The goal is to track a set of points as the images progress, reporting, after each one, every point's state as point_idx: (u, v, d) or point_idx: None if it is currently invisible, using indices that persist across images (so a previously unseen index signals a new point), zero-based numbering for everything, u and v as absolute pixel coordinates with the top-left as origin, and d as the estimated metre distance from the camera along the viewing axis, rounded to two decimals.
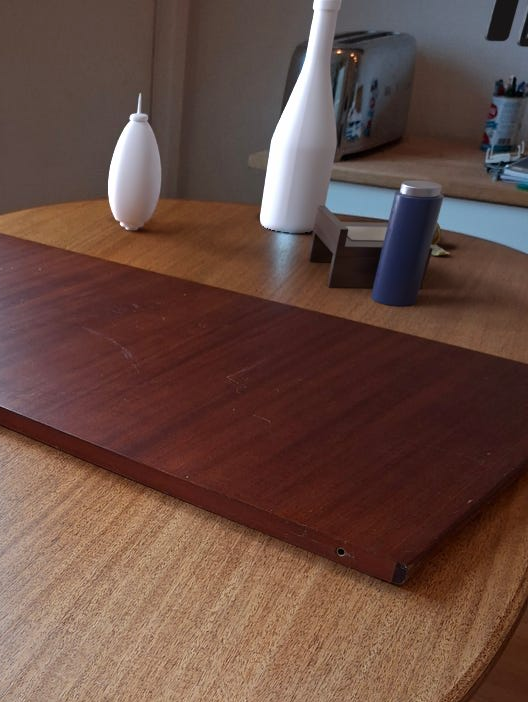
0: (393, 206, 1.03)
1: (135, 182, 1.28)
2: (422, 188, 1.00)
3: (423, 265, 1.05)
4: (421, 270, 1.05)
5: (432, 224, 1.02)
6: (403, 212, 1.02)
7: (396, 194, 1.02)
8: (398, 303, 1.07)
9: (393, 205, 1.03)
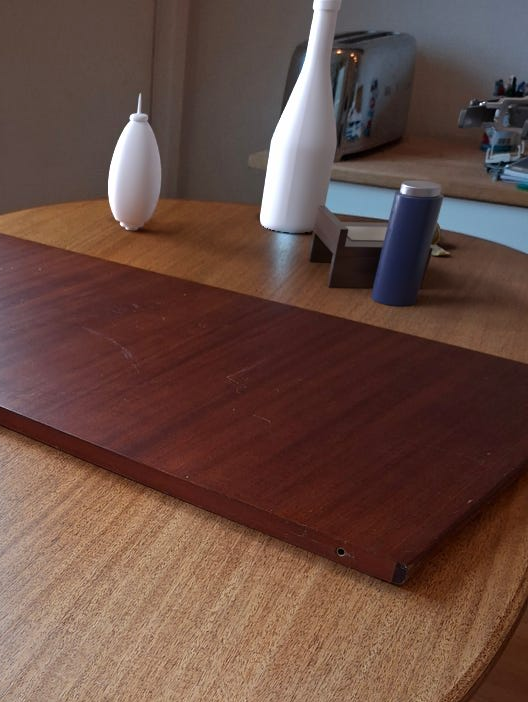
0: (393, 206, 1.03)
1: (135, 182, 1.28)
2: (422, 188, 1.00)
3: (423, 265, 1.05)
4: (421, 270, 1.05)
5: (432, 224, 1.02)
6: (403, 212, 1.02)
7: (396, 194, 1.02)
8: (398, 303, 1.07)
9: (393, 205, 1.03)
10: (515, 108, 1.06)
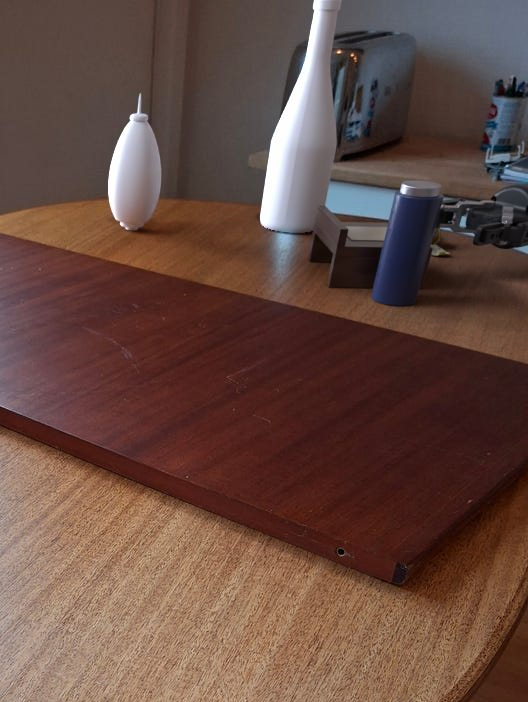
0: (393, 206, 1.03)
1: (135, 182, 1.28)
2: (422, 188, 1.00)
3: (423, 265, 1.05)
4: (421, 270, 1.05)
5: (432, 224, 1.02)
6: (403, 212, 1.02)
7: (396, 194, 1.02)
8: (398, 303, 1.07)
9: (393, 205, 1.03)
10: (471, 212, 1.11)
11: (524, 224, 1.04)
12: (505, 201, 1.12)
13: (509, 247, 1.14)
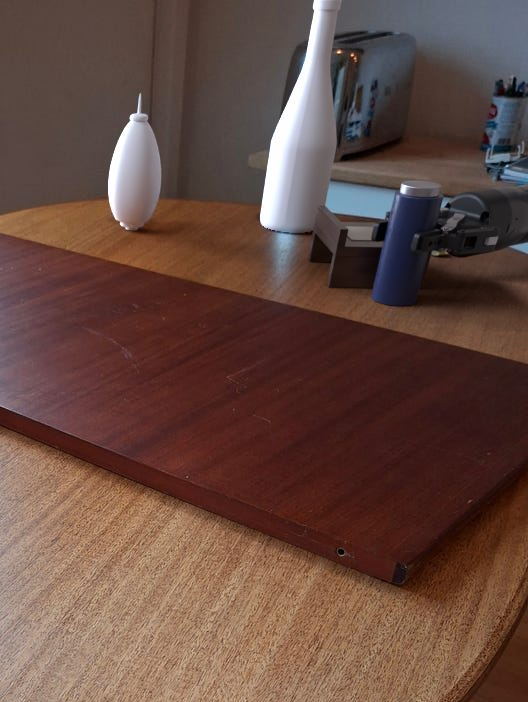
0: (393, 206, 1.03)
1: (135, 182, 1.28)
2: (422, 188, 1.00)
3: (423, 265, 1.05)
4: (421, 270, 1.05)
5: (432, 223, 1.02)
6: (403, 212, 1.02)
7: (396, 194, 1.02)
8: (398, 303, 1.07)
9: (393, 205, 1.03)
10: None
11: (462, 231, 1.01)
12: (459, 208, 1.08)
13: (464, 256, 1.10)
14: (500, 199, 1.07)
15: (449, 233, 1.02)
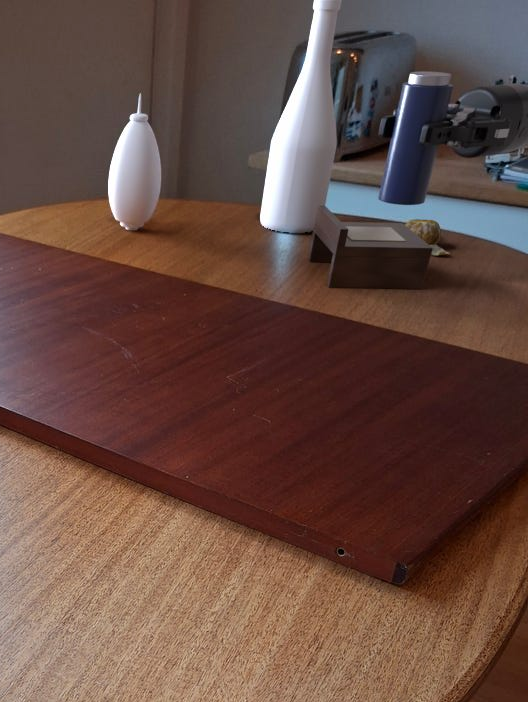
0: (401, 98, 1.00)
1: (135, 182, 1.28)
2: (431, 76, 0.97)
3: (432, 161, 1.02)
4: (430, 166, 1.02)
5: (441, 115, 0.99)
6: (411, 103, 0.99)
7: (404, 85, 0.99)
8: (406, 202, 1.04)
9: (401, 97, 1.00)
10: None
11: (472, 122, 0.98)
12: (469, 105, 1.05)
13: (474, 155, 1.07)
14: (511, 94, 1.04)
15: (459, 125, 0.99)
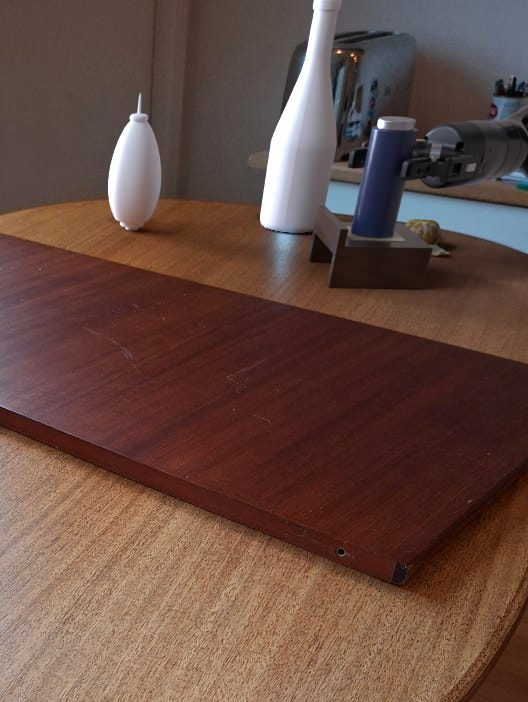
0: (370, 140, 1.08)
1: (135, 182, 1.28)
2: (397, 122, 1.05)
3: (399, 198, 1.11)
4: (397, 203, 1.11)
5: (407, 157, 1.07)
6: (379, 146, 1.07)
7: (373, 129, 1.08)
8: (376, 235, 1.13)
9: (370, 140, 1.08)
10: None
11: (450, 158, 1.06)
12: (436, 140, 1.13)
13: (441, 186, 1.15)
14: (474, 130, 1.12)
15: (438, 161, 1.07)
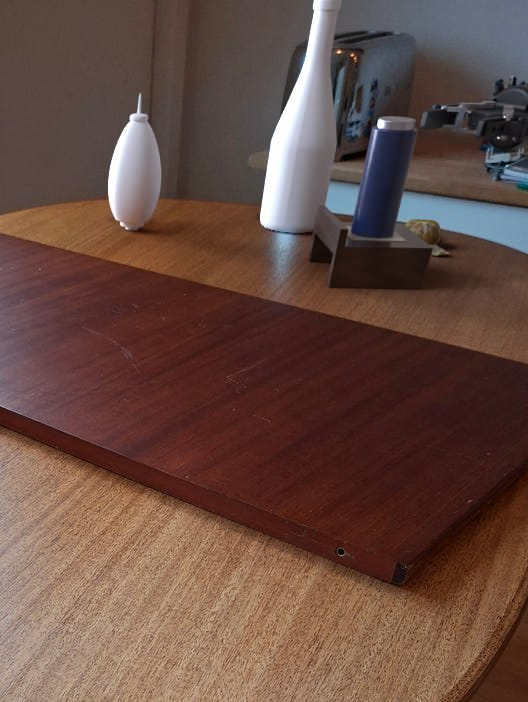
0: (370, 140, 1.08)
1: (135, 182, 1.28)
2: (397, 122, 1.05)
3: (399, 198, 1.11)
4: (397, 203, 1.11)
5: (407, 157, 1.07)
6: (379, 146, 1.07)
7: (373, 129, 1.08)
8: (376, 235, 1.13)
9: (370, 140, 1.08)
10: (473, 112, 1.15)
11: (524, 117, 1.09)
12: (505, 102, 1.16)
13: (509, 148, 1.18)
14: None
15: (511, 120, 1.10)
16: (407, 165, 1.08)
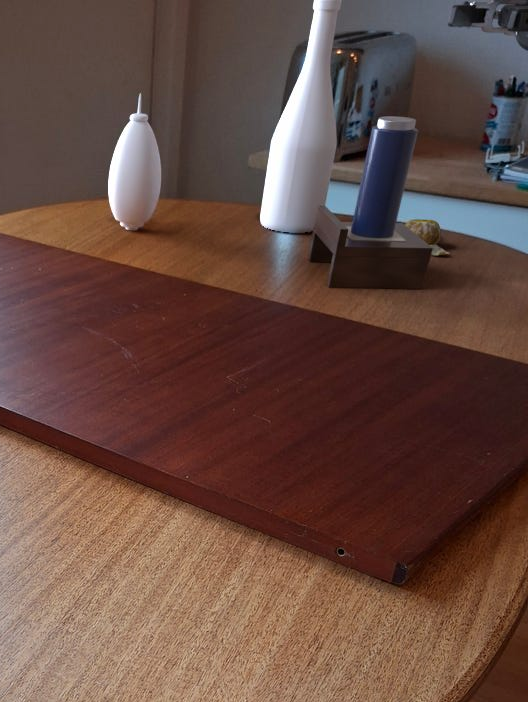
0: (370, 140, 1.08)
1: (135, 182, 1.28)
2: (397, 122, 1.05)
3: (399, 198, 1.11)
4: (397, 203, 1.11)
5: (407, 157, 1.07)
6: (379, 146, 1.07)
7: (373, 129, 1.08)
8: (376, 235, 1.13)
9: (370, 140, 1.08)
10: (504, 7, 1.09)
11: None
12: None
13: None
14: None
15: None
16: (407, 165, 1.08)
